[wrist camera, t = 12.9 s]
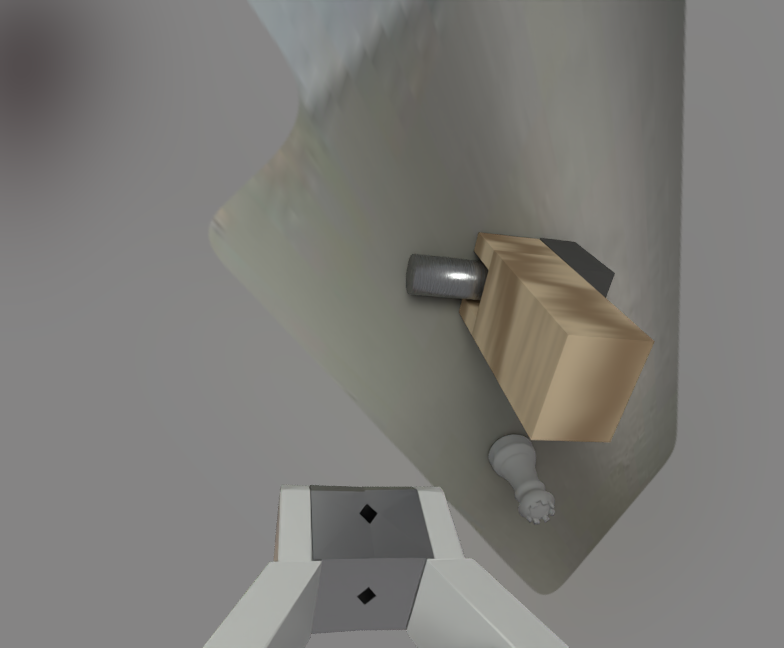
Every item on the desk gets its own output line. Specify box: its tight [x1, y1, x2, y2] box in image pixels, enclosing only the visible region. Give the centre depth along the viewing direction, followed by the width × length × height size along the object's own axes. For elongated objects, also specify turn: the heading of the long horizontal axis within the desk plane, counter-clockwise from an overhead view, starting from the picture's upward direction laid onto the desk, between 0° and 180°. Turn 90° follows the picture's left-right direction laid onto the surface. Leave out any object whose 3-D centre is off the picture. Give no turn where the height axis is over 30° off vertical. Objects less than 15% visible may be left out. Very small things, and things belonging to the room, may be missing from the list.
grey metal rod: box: [406, 254, 489, 300], centre depth 42 cm, size 15×3×3 cm, turn 80°
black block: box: [540, 238, 615, 298], centre depth 42 cm, size 3×7×6 cm, turn 170°
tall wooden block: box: [459, 232, 655, 442], centre depth 37 cm, size 5×7×16 cm
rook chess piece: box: [488, 434, 555, 524], centre depth 50 cm, size 4×4×8 cm
